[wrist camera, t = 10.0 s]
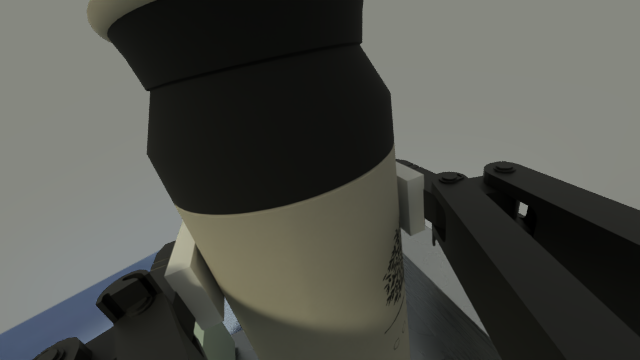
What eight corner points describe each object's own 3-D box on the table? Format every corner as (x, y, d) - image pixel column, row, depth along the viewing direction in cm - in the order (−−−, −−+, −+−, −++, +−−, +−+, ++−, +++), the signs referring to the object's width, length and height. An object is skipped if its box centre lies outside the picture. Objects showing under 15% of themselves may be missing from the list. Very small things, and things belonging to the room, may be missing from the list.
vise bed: (109, 753, 8) (-58, 799, 5) (177, 372, 18) (132, 322, 16) (575, 398, 13) (613, 327, 10) (419, 256, 23) (417, 202, 21)
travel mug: (250, 391, 14) (27, 40, 6) (319, 284, 20) (246, 34, 12) (387, 496, 10) (212, -191, 2) (423, 320, 16) (411, -30, 8)
